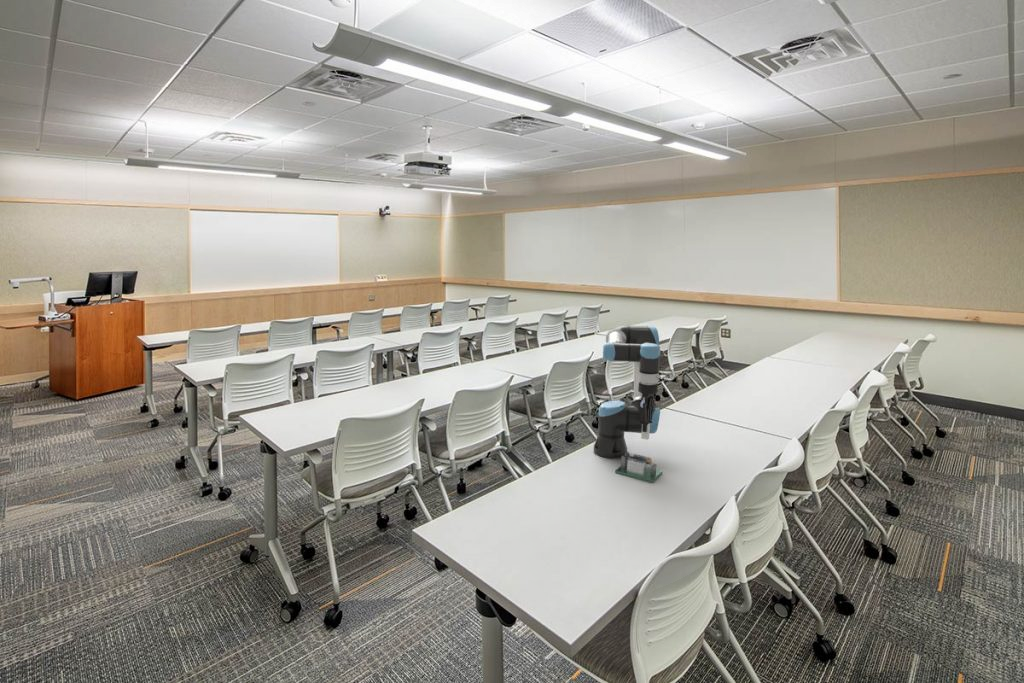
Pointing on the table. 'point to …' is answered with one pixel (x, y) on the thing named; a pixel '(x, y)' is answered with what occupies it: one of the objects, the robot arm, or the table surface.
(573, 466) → the table surface
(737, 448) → the table surface
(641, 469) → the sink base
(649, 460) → the grey rod
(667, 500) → the table surface
